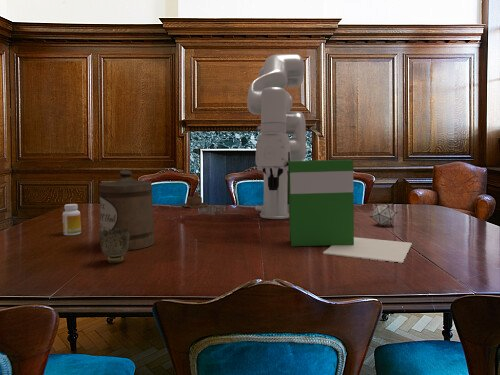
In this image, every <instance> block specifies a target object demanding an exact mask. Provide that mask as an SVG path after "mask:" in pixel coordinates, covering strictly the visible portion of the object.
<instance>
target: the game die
mask: <svg viewBox="0 0 500 375" xmlns="http://www.w3.org/2000/svg"><path fill="white" fill-rule="evenodd" d="M374 205H375V208H374V211H373V213H372V215H370V216H369V218H373V220H375V221H376V223H377V224H378V225H379V227H382V226H383V225H384V226H385V225H386V226H387V225H390V226H391V227H392V226H393V224H392V222H393V221H394V219H395V216H396V214H397V215H398V213H399V212H397V211H394V209H392V208H391V207H390V205H389V204H388V202H387V203H386V204H381V205H380V204H379V205H378V204H377V203H374Z"/></svg>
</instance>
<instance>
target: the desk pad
mask: <svg viewBox="0 0 500 375" xmlns="http://www.w3.org/2000/svg"><path fill="white" fill-rule="evenodd" d="M412 245H413V243H412V242H408V241H407V242H406V241H396V240H395V241H394V240H386V239H385V240H384V239H376V238H365V237H356V236H354V245H330V246H329V247H328V248H327V249H326V250H324V251H322V254H323V255H328V256H336V257H346V258H353V259H354V258H355V259H360V258H361V260H362V259H363V260H369V259H370V260H371V261H377V260H378V262H385V261H389V262H388V263H394V262H398V263H397V264H402V263H403V264H404V262H405V260H406V258H407V256H408V254H409V251H410V249H411V247H412ZM407 253H408V254H407ZM404 259H405V260H404ZM370 260H369V261H370Z"/></svg>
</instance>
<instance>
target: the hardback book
mask: <svg viewBox="0 0 500 375" xmlns="http://www.w3.org/2000/svg"><path fill="white" fill-rule="evenodd" d="M287 175H288V182H287V183H288V213H289V218H288V221H289V227H288V228H289V242H291V243H290V244H291V245H290V246H291V247H313V246H317V247H319V246H320V247H321V246H332V245H354V237H355V234H354V232H355V230H354V229H355V228H354V227H355V226H354V225H355V224H354V222H355V220H354V218H355V216H354V215H355V214H354V213H355V212H354V208H355V207H354V206H355V205H354V201H355V200H354V160H353V159H328V160H327V159H326V160H325V159H323V160H322V159H321V160H319V159H318V160H303V161H288V171H287Z"/></svg>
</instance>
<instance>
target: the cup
mask: <svg viewBox="0 0 500 375" xmlns="http://www.w3.org/2000/svg"><path fill="white" fill-rule="evenodd" d="M98 238H99V239H98V240H99V243H100V249H101V252H102V254H103V255H104V256H106V257H107V262H109V264H117V263H118V264H119V263H122V262H123V260H124V255H126V253H128V251H129V250H128V247H129V238H130V230H129V229H128V228H127V229H126V230H125V229H124V228H123V229H122V231H121V229H120V228H118V229H116V228H114V229H113V231H111V229H110V228H109V230H108V231H107V230H105V229H103V230H102V231H101V230H99V231H98Z"/></svg>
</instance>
